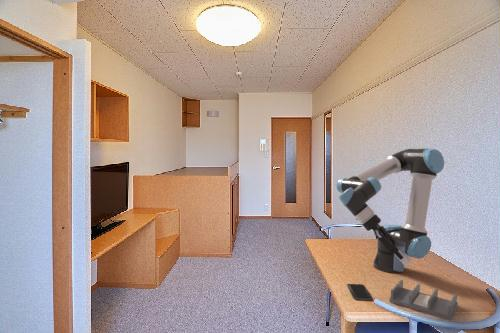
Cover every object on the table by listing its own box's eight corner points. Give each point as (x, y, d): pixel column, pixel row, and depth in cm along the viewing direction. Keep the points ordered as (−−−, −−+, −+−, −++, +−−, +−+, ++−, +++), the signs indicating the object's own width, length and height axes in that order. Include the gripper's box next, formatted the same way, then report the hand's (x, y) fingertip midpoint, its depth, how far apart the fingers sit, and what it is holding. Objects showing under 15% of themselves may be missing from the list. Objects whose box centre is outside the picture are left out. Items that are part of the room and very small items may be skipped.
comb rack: (399, 290, 144) (400, 279, 144) (457, 306, 130) (458, 293, 130) (389, 301, 132) (389, 290, 132) (451, 320, 118) (452, 307, 118)
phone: (354, 298, 134) (346, 283, 149) (354, 300, 134) (346, 286, 149) (373, 299, 133) (364, 284, 148) (373, 302, 133) (364, 286, 148)
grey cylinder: (394, 267, 139) (396, 239, 138) (405, 270, 136) (407, 242, 135) (391, 269, 135) (393, 241, 135) (402, 272, 133) (404, 244, 132)
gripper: (364, 220, 149) (401, 261, 143) (358, 228, 134) (400, 274, 128) (377, 210, 147) (415, 252, 140) (372, 217, 132) (415, 264, 125)
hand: (408, 262), depth 134 cm, fingers closed on grey cylinder, 4 cm apart
